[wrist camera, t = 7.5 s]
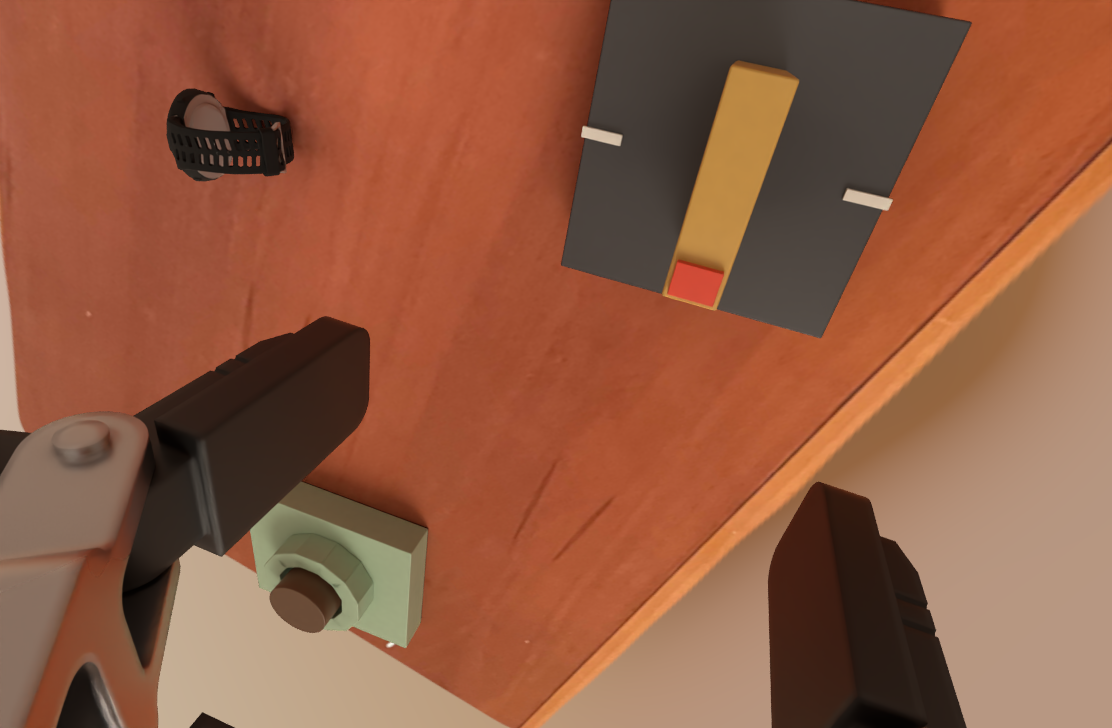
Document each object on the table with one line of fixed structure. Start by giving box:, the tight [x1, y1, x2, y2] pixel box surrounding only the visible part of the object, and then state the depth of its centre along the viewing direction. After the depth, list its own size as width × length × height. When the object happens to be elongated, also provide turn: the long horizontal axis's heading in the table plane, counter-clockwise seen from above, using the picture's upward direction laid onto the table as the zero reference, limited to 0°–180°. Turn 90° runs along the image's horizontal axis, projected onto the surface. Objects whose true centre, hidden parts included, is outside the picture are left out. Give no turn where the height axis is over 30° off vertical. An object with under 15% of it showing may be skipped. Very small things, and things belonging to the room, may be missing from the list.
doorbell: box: [250, 482, 428, 648], centre depth 39 cm, size 12×10×4 cm
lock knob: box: [662, 60, 799, 310], centre depth 17 cm, size 6×2×5 cm, turn 169°
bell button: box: [270, 567, 341, 633], centre depth 37 cm, size 4×4×2 cm
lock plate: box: [561, 0, 972, 338], centre depth 20 cm, size 10×10×3 cm
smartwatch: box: [166, 89, 294, 181], centre depth 25 cm, size 4×5×5 cm
